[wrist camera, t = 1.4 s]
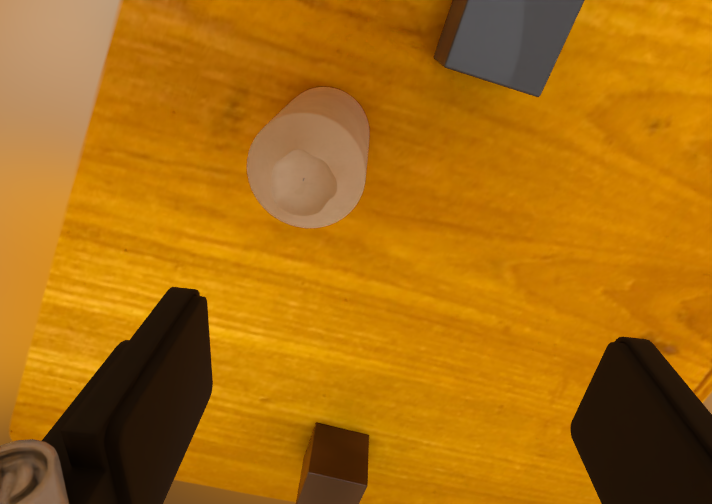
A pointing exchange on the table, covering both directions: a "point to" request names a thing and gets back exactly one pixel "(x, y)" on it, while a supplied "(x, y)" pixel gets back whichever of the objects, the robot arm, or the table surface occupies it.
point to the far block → (334, 467)
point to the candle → (311, 159)
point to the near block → (507, 40)
